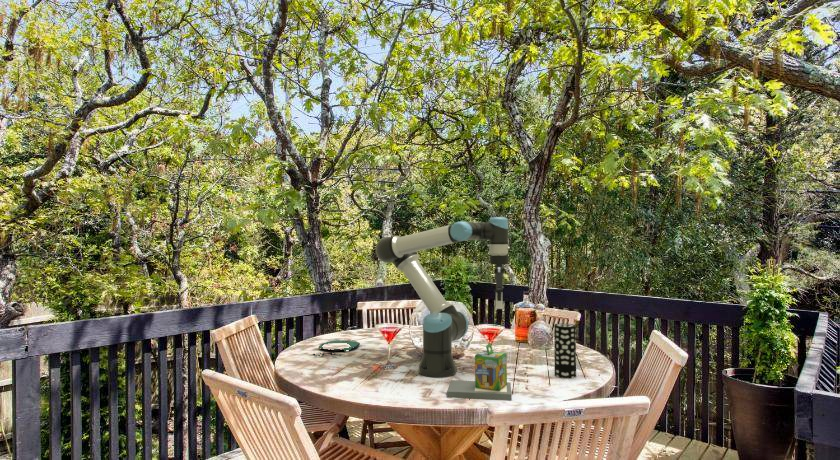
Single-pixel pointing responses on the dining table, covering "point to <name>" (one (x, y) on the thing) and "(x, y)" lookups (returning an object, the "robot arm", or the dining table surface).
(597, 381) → the dining table surface
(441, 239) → the robot arm
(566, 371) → the white-spotted black cylinder
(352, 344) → the green piece
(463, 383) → the slate board
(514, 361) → the dining table surface
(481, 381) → the chalk box
